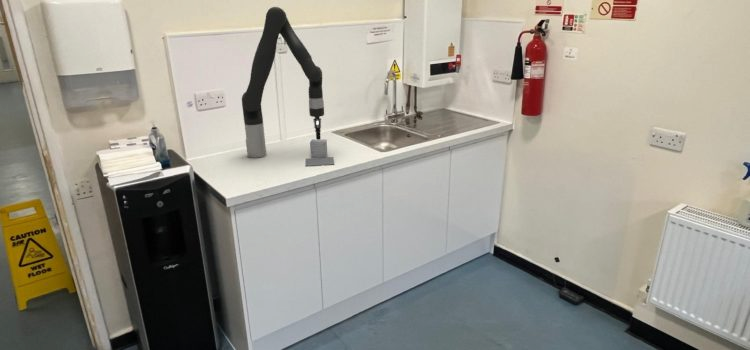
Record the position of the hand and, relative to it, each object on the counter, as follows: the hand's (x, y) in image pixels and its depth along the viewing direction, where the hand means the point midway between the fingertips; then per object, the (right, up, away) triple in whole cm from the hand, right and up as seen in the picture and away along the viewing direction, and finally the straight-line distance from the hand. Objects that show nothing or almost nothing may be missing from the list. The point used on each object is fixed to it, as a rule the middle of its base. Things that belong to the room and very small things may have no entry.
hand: (318, 138), depth 242 cm
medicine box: (+1, -10, -5) cm, 11 cm away
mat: (+2, -12, -13) cm, 18 cm away
